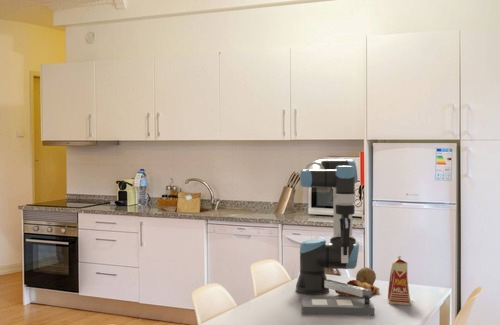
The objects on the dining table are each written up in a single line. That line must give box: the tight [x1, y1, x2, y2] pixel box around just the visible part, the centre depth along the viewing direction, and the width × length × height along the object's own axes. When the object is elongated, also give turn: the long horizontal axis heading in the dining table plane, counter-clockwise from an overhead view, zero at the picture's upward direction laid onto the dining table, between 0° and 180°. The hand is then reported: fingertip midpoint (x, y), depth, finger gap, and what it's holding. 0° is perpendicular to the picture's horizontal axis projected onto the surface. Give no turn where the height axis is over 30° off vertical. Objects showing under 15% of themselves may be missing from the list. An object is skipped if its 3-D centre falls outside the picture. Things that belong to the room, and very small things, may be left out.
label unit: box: [301, 297, 376, 316], centre depth 226 cm, size 12×28×5 cm, turn 87°
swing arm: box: [324, 279, 373, 299], centre depth 233 cm, size 4×24×3 cm, turn 39°
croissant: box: [334, 279, 380, 298], centre depth 251 cm, size 21×10×8 cm, turn 105°
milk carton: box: [387, 255, 412, 306], centre depth 240 cm, size 9×9×20 cm
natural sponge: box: [355, 267, 377, 285], centre depth 261 cm, size 9×9×10 cm
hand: (344, 262), depth 226 cm, fingers closed
